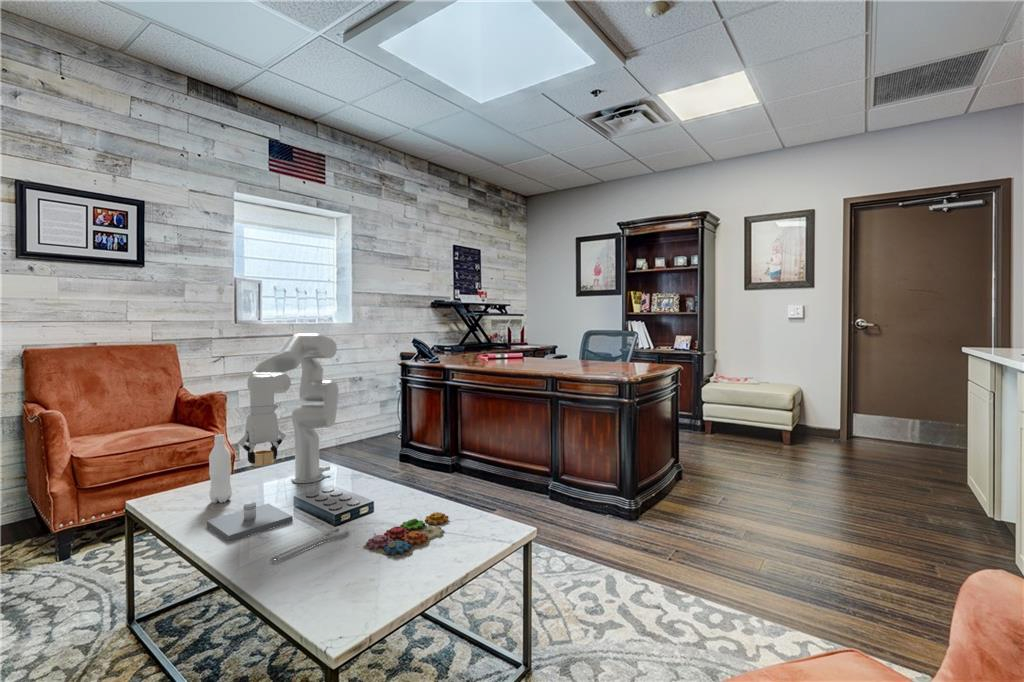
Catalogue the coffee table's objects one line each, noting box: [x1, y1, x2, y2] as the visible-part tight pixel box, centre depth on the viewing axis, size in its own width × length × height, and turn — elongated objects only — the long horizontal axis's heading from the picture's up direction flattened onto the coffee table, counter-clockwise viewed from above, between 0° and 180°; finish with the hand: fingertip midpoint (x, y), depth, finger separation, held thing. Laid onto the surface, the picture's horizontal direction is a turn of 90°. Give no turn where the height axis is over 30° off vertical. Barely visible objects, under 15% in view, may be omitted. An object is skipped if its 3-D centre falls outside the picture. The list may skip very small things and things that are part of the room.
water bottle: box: [208, 433, 233, 504], centre depth 188 cm, size 7×7×25 cm
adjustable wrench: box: [269, 527, 349, 564], centre depth 152 cm, size 25×6×2 cm, turn 142°
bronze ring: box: [250, 449, 275, 467], centre depth 177 cm, size 7×7×4 cm
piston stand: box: [206, 500, 294, 543], centre depth 167 cm, size 20×18×7 cm
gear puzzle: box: [363, 511, 450, 560], centre depth 160 cm, size 31×16×4 cm, turn 149°
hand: (262, 460), depth 177 cm, fingers closed on bronze ring, 6 cm apart
